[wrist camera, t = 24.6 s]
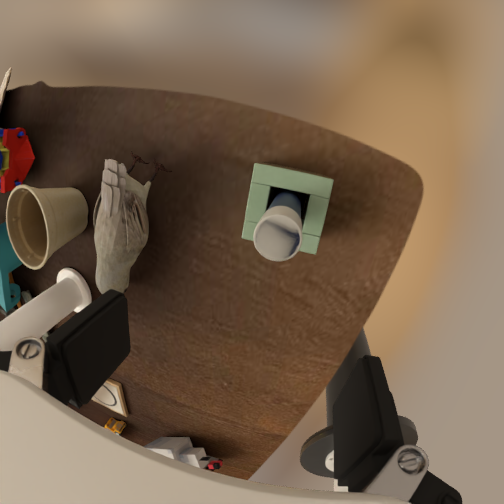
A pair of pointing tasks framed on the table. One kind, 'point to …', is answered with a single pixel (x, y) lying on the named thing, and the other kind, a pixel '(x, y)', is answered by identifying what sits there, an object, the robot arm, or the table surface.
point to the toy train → (14, 158)
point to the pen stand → (295, 180)
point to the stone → (27, 298)
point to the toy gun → (7, 312)
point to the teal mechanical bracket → (7, 271)
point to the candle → (46, 309)
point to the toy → (184, 452)
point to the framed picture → (111, 397)
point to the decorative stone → (4, 87)
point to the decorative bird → (120, 224)
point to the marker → (280, 227)
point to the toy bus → (115, 426)
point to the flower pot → (43, 221)
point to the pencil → (14, 283)
